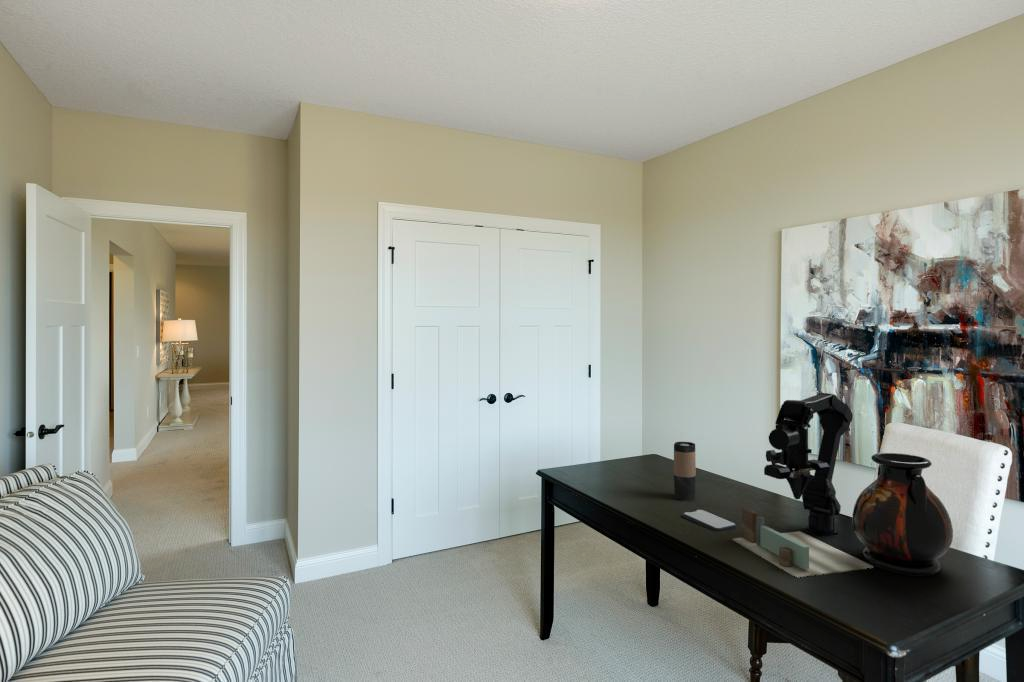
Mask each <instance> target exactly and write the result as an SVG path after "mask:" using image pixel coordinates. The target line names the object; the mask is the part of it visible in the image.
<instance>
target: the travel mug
mask: <svg viewBox="0 0 1024 682" xmlns="http://www.w3.org/2000/svg"><path fill="white" fill-rule="evenodd" d="M696 463H697V462H696V443H694V442H691V441H676V442H675V443H674V444H673V489H674V498H675V497H676V498H678V499H681V500H692V501H694V500H693V499H696V482H697V479H696V477H697V474H696V473H697V472H696V467H697V466H696ZM676 498H675V499H676ZM678 499H677V500H678ZM681 500H680V501H681Z"/></svg>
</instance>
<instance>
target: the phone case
mask: <svg viewBox="0 0 1024 682" xmlns="http://www.w3.org/2000/svg"><path fill="white" fill-rule="evenodd" d="M684 517H685V518H684ZM682 518H684V519H686V518H687V519H686V520H688V519H689V520H688V521H690V520H692V521H691V522H693V521H694V522H693V523H695V522H696V523H695V524H697V523H698V524H697V525H700V524H701V525H700V526H702V525H703V526H702V527H704V526H705V528H707V529H709V530H712V531H714V532H725V531H728V530H733V529H736V528H737V526H738V525H737V524H736V523H735V522H732V521H730V520H728V519H726V518H723V517H720V516H718V515H716V514H713V513H710V512H709V511H706V510H703V509H694V510H689V511H685V512H682Z"/></svg>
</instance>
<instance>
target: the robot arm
mask: <svg viewBox="0 0 1024 682" xmlns="http://www.w3.org/2000/svg"><path fill="white" fill-rule="evenodd" d="M814 414H816V415H817V416H818V417H819V424H820V427H821V428H822V431H823V432H822V436H821V442H820V447H819V450H818V456H817V459H815V458H814V459H809V454H811V453H812V451H813V450H812V448H811V449H810V448H809V428H811V427H812V426H811V424H810V421H811V420H812V419H814ZM853 416H854V415H853V412H852V410H851V408H850V407H849V405H848V404H847V403H845V402H843V400H840V399H839V398H838V396H837V395H836V394H834V393H825V392H819V393H817V394H816V395H813V396H810V397H807V398H804V399H801V400H798V399H795V400H794V399H787V400H784V401H783V403H782V404H781V406H780V408H779V412H778V415H777V417H776V421H775V429H772V430H771V431H770V433H769V435H768V441H769V444H770V446H771V447H772V448H774V449H775V450H774V449H769V450H766V451H765V460H766V461H767V462H769V463H770V464H766V465H765V466H764V470H763V473H764V475H765V476H767V477H771V478H774V479H777V480H785V479H786V481H787V483H788V485H789V487H790V490H791V492H792V495H793V498H794V499H795V500H800V499H802V503H803V505H802V506H803V509H804V510H808V511H809V515H808V517H807V518H808V522H807V523H808V525H807V526H805V529H806V530H808V531H810V532H813V533H815V534H817V535H819V536H828V535H829V536H830V535H838V534H840V533H839V531H837V530H835V516H840V514H841V508H842V506H841V504H840V502H839V500H838V499H837V497H836V495H837V491H836V489H835V486H834V484H833V482H832V481H833V478H834V477H833V476H834V471H835V467H836V462H837V457H838V452H839V448H840V447H839V446H840V441H841V436H843V435H844V434H845V433H846V432H847V431H848V430H849V429H850V426H851V423H852V421H853ZM776 450H779V452H776ZM811 471H814V473H813V474H814V475H813V474H811Z"/></svg>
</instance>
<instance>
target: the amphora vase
mask: <svg viewBox="0 0 1024 682" xmlns="http://www.w3.org/2000/svg"><path fill="white" fill-rule="evenodd" d="M870 458H871V460H872V462H874V463H876V464H878V467H877V478H876V479H875V480H873V481H872V483H870V484H869V485H868V486H867V487H865V488H864V489H863V490H862V491H861V492H860V494H859V495H858V497H857V498H856V500H855V503H854V506H853V510H852V528H853V531H854V533H855V535H856V536H857V538H858V539H859V541H860V542H861V543H862V544H863V546H865V548H864V549H863V551H862V553H863V557H864V558H865V560H866V561H868V562H869V563H870V564H871V565H872V566H873V565H874V566H875V567H878V568H879V569H882V570H884V571H888V572H891V573H895V574H899V575H904V576H912V577H925V576H931V575H935V574H937V573H938V572H939V571H940V569H941V564H940V562H939V561H938V559H940V558H941V557H943V556H944V555H945V554H946V553H947V552H948V551H949V549H950V547H951V545H952V543H953V540H954V539H953V537H954V528H953V524H952V520H951V516H950V514H949V511H948V510H947V508H946V507H945V505H944V503H943V502H942V501H941V498H939V497H938V496H937V495H936V494H935V493H934V492H933V491H932V490H931V488H929V487H928V486H927V485H926V484H927V483H926V481H925V479H924V477H923V475H922V473H923V470H924V469H927V468H930V467H931V466H932V461H930V459H928V458H925V457H922V456H919V455H913V454H906V453H896V452H878V453H875V454H873V455H872V456H871V457H870Z"/></svg>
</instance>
